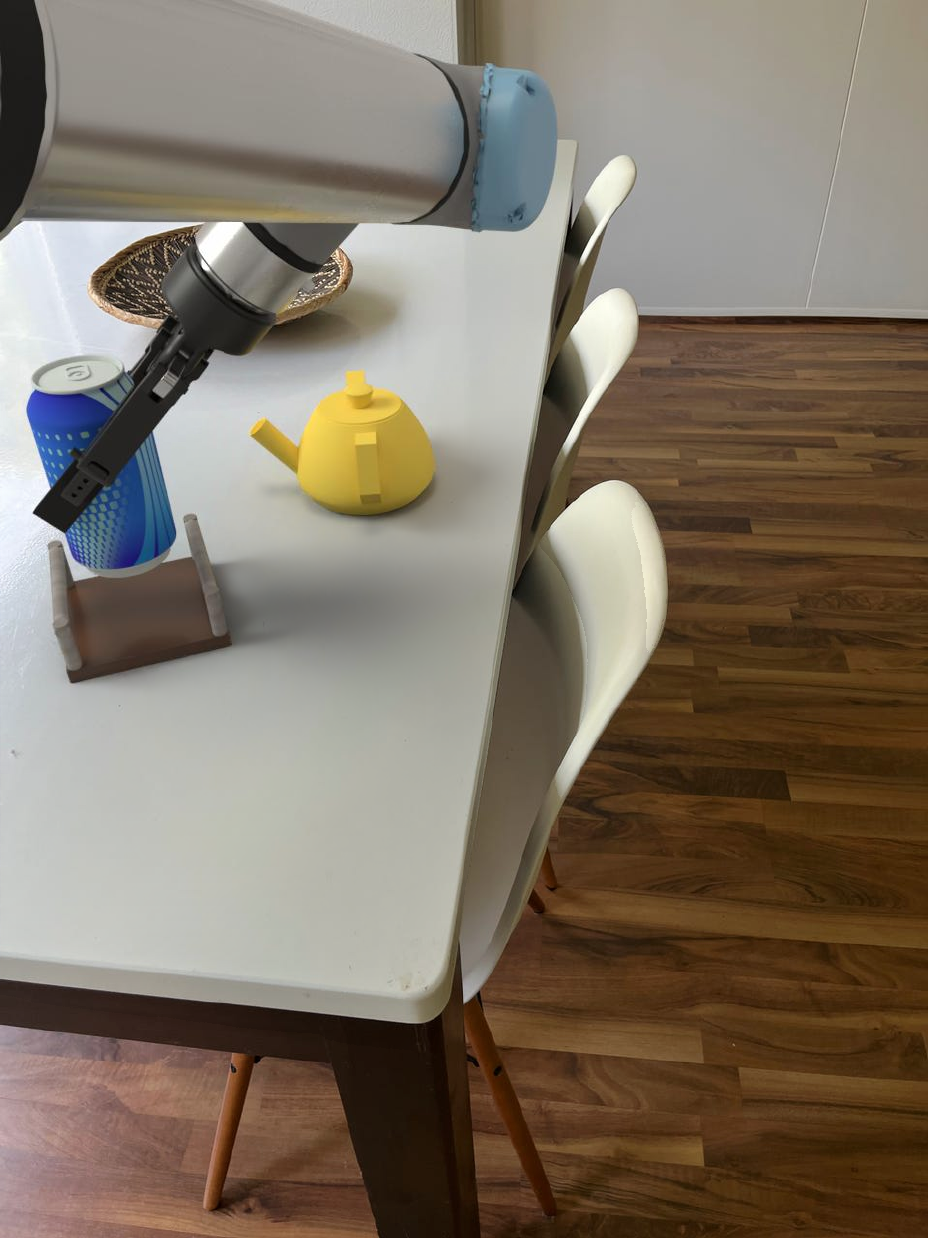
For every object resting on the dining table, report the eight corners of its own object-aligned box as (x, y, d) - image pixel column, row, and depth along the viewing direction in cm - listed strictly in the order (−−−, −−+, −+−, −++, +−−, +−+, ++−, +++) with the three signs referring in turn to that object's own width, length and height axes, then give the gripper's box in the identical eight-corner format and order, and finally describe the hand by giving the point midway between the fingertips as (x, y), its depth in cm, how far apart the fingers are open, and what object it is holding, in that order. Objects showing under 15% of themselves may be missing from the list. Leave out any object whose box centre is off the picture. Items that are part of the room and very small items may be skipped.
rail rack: (232, 645, 83) (220, 591, 79) (70, 684, 79) (51, 629, 76) (207, 563, 92) (196, 512, 89) (63, 594, 89) (45, 541, 86)
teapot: (259, 451, 110) (243, 357, 103) (422, 436, 112) (417, 342, 105) (259, 549, 94) (241, 445, 87) (449, 528, 96) (445, 426, 90)
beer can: (197, 533, 84) (157, 353, 74) (148, 590, 78) (97, 401, 68) (109, 522, 86) (59, 345, 76) (54, 576, 79) (-9, 390, 70)
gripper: (263, 376, 62) (73, 595, 71) (294, 266, 78) (137, 455, 88) (160, 295, 58) (-25, 536, 68) (216, 198, 75) (61, 402, 85)
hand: (66, 490), depth 78 cm, fingers closed on beer can, 8 cm apart
